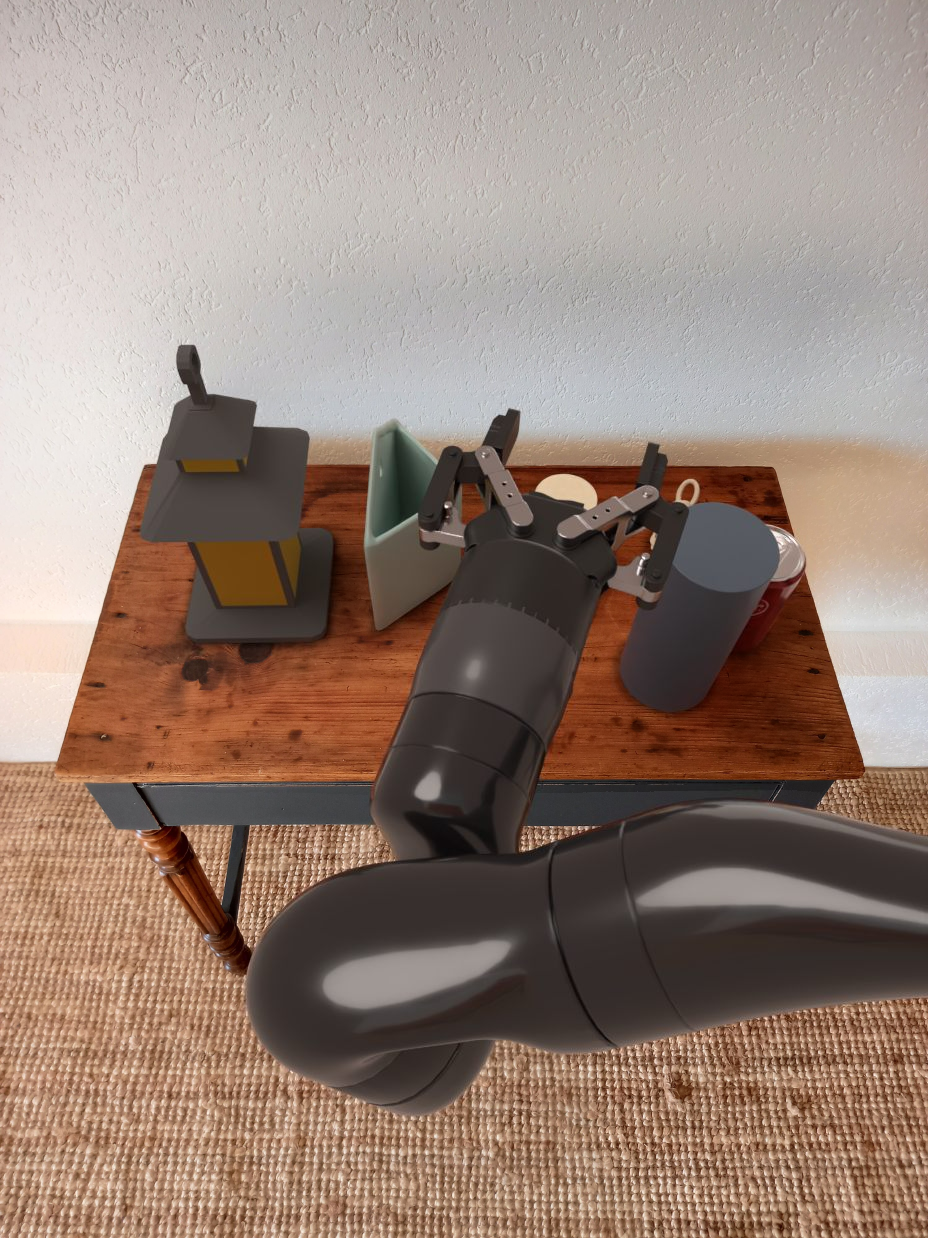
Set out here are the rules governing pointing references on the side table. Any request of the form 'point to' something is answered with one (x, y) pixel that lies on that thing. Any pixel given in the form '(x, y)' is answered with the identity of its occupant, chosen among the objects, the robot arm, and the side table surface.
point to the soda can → (775, 590)
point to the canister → (569, 489)
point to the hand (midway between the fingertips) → (581, 435)
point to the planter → (401, 526)
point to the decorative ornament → (682, 501)
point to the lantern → (239, 519)
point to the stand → (699, 607)
